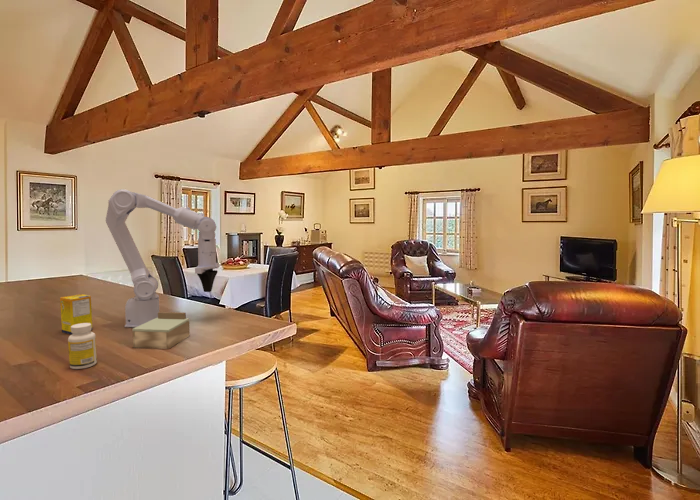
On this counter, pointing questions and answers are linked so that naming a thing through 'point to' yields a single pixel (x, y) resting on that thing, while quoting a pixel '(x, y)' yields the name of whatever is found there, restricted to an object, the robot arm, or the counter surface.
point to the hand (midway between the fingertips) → (207, 291)
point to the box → (160, 337)
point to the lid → (163, 322)
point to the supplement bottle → (82, 346)
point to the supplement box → (75, 311)
